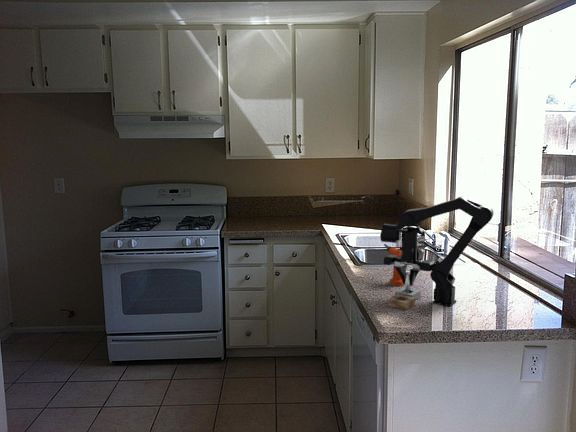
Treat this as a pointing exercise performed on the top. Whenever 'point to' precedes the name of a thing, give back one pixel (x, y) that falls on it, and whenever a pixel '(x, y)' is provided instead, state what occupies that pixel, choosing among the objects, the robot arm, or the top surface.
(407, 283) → the silver metal rod
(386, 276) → the top surface
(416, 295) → the gray square ring
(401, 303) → the socket block
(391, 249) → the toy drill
